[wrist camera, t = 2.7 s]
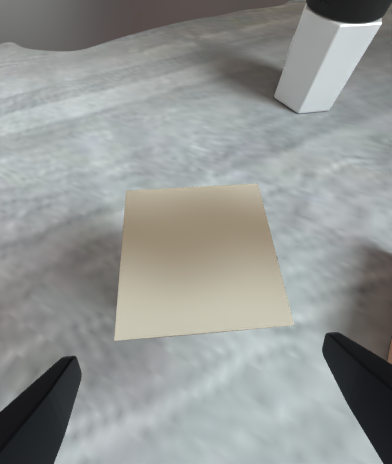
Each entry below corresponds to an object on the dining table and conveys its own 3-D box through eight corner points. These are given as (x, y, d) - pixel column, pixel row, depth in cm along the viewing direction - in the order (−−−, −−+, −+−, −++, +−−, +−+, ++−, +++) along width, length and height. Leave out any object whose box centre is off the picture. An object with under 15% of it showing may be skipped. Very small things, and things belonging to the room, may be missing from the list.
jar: (281, 73, 34) (323, -51, 23) (333, 85, 32) (404, -40, 22) (268, 107, 30) (311, -22, 19) (327, 121, 29) (409, -7, 18)
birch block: (227, 331, 17) (294, 325, 6) (166, 336, 17) (113, 340, 6) (220, 271, 19) (257, 183, 8) (165, 275, 19) (126, 190, 8)
